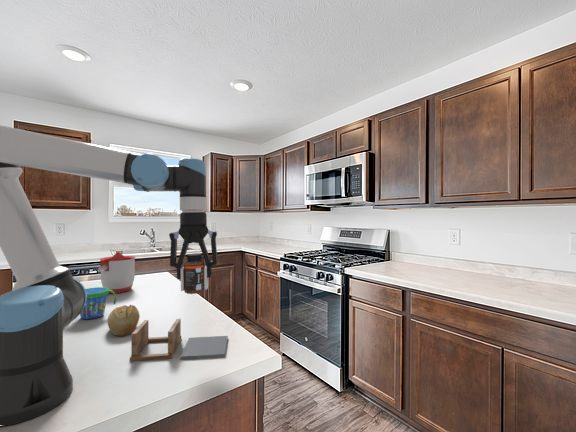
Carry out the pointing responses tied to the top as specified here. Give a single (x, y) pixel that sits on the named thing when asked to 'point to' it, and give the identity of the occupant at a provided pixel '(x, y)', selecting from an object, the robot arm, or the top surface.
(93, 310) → the snack cup
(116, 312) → the bread roll
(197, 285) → the supplement bottle
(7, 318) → the robot arm
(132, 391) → the top surface
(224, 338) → the coaster
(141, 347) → the rack
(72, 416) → the top surface
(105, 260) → the citrus juicer
